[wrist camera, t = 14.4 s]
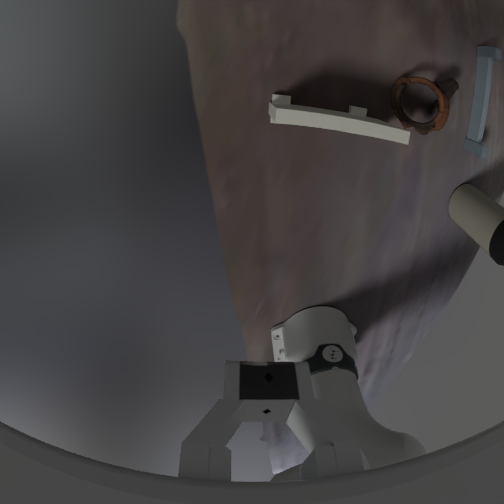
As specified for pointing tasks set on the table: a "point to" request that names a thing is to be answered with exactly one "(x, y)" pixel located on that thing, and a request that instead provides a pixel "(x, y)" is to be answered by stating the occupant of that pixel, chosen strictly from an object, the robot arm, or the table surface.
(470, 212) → the travel mug
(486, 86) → the handle
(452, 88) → the pottery mug
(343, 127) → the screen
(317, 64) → the table surface
